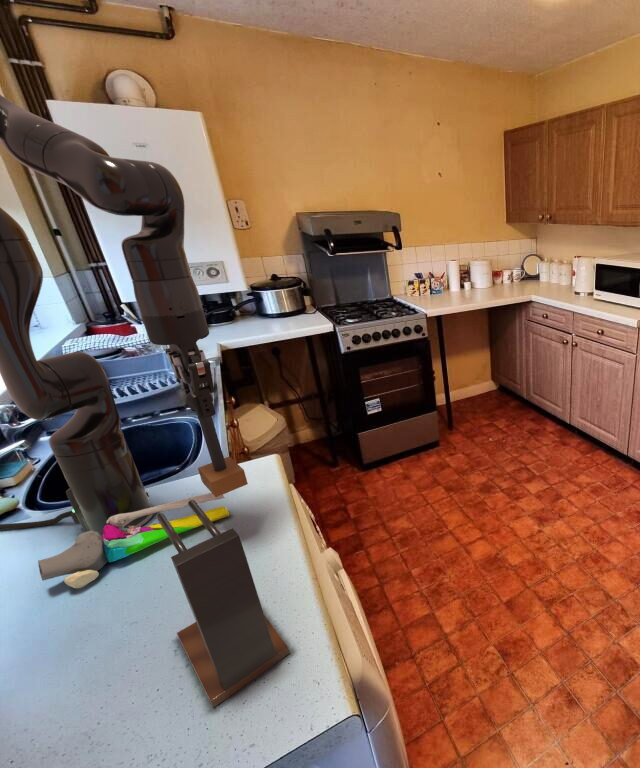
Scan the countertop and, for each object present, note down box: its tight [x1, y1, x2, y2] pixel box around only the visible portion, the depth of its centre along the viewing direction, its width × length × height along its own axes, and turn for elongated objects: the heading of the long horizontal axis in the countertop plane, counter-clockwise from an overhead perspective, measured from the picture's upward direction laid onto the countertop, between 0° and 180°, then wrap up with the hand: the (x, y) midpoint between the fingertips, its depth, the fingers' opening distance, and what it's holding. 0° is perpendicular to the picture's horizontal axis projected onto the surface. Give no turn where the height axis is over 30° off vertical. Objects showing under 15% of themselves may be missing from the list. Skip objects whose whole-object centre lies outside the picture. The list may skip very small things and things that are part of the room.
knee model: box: [37, 492, 230, 589], centre depth 75 cm, size 9×8×25 cm
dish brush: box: [185, 392, 249, 497], centre depth 73 cm, size 7×5×18 cm
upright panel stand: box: [155, 500, 291, 708], centre depth 55 cm, size 14×9×20 cm, turn 49°
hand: (203, 412), depth 71 cm, fingers closed on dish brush, 3 cm apart
